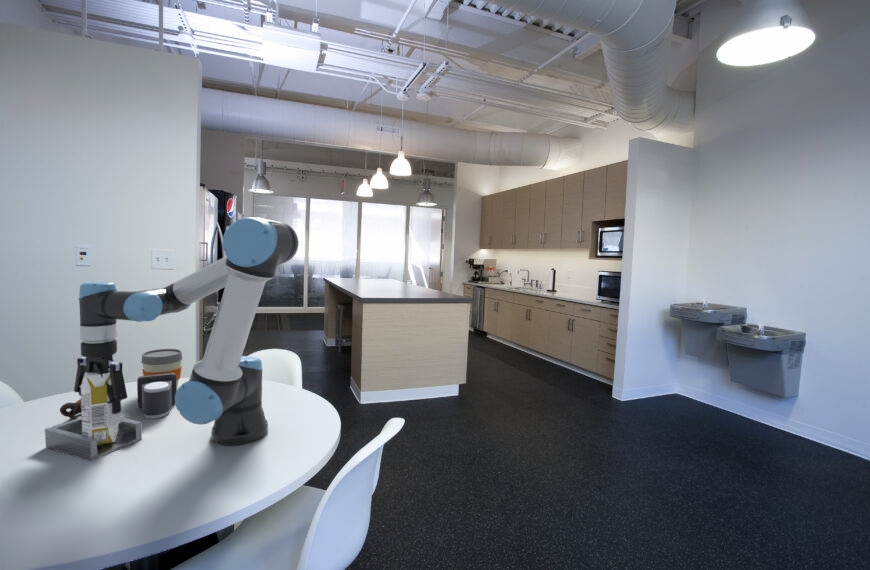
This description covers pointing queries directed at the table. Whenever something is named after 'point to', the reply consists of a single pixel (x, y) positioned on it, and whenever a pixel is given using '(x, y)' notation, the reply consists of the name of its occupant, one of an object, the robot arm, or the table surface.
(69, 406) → the brown ring with handle
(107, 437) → the juice carton
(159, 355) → the reusable coffee cup
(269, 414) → the table surface
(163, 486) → the table surface
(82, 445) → the dock
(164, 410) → the wireless charger stand
